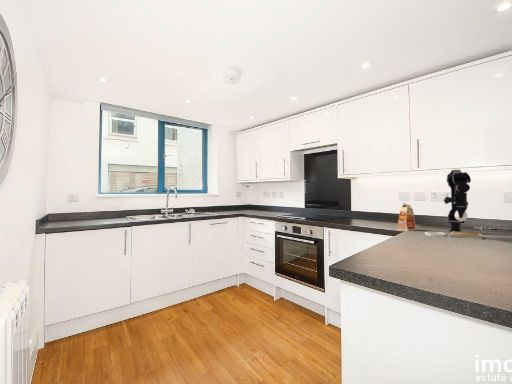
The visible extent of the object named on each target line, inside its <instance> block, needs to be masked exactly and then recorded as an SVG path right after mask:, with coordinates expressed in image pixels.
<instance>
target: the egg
mask: <svg viewBox="0 0 512 384" xmlns="http://www.w3.org/2000/svg"><path fill="white" fill-rule="evenodd" d="M455 218H456V219H457V220H459V221H458V222H461V221H464V222H465V221H466V220H467V219H468V213H467V210H466V211H465V212H464V214H463V217H462V218H459V214H458V211H456V212H455Z"/></svg>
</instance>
